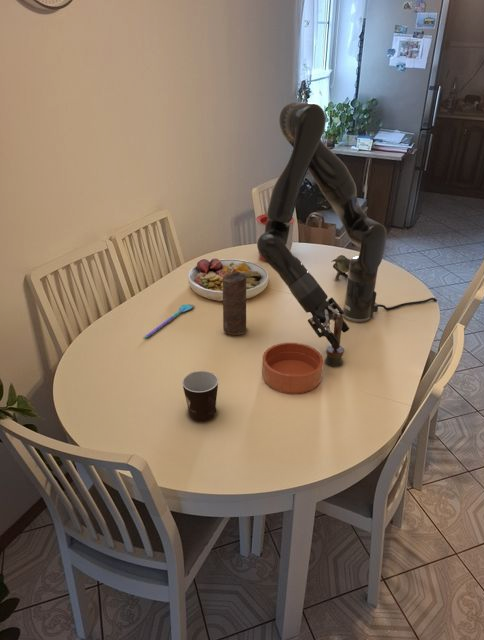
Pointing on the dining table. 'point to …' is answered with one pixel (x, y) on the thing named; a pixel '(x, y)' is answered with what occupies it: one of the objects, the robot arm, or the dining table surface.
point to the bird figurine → (341, 266)
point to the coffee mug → (201, 394)
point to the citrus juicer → (262, 225)
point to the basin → (292, 367)
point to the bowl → (210, 275)
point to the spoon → (181, 309)
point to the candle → (234, 303)
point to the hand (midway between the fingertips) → (341, 337)
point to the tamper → (336, 351)
